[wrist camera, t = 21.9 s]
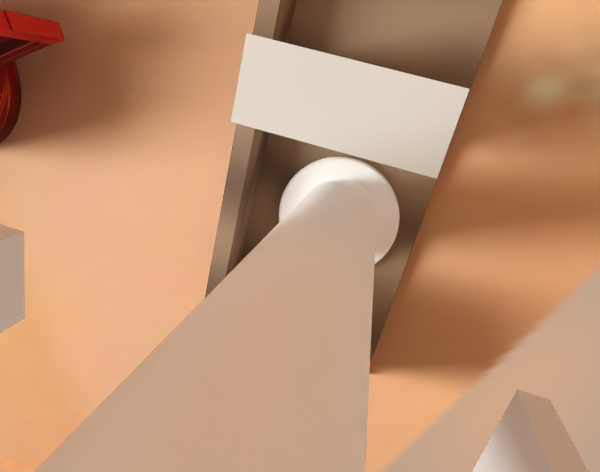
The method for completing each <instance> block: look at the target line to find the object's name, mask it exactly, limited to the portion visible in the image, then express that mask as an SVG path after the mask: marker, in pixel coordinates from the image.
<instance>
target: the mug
mask: <svg viewBox="0 0 600 472" xmlns="http://www.w3.org/2000/svg"><path fill="white" fill-rule="evenodd" d="M62 40H64V37H63V34H62V32H61V29H60V26H59V23H57V22H53V21H49V20H45V19H40V18H36V17H32V16H28V15H23V14H19V13H15V12H10V11H6V10H4V11H2V10H0V143H1V142H2V141H4V140H5V138H6V137H7V136H8V135H9V134H10V133H11V131H12V130H13V128H14V126H15V124H16V122H17V119H18V115H19V112H20V104H21V87H20V80H19V75H18V71H17V67H16V64H15V62H14V60H16V59H18V58H21V57H23V56H25V55H27V54H30V53H32V52H34V51H37V50H39V49H41V48H43V47H46V46H48V45H50V44H54V43H56V42H59V41H62Z"/></svg>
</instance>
